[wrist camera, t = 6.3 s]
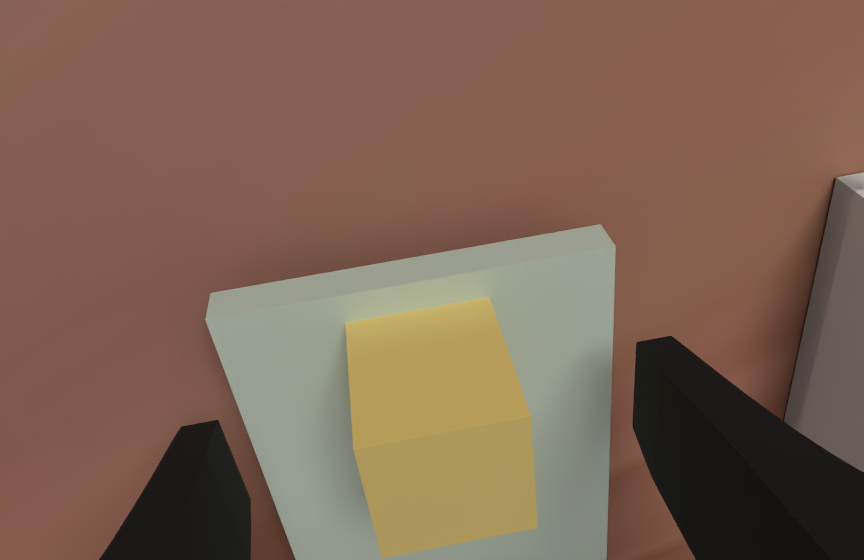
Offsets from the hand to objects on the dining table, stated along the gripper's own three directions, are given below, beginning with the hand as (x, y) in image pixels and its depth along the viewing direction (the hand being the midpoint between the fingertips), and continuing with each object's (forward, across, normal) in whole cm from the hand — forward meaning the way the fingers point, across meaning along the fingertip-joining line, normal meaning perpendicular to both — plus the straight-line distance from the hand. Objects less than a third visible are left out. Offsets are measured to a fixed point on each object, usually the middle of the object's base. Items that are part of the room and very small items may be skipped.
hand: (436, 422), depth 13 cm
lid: (+3, 0, +3) cm, 4 cm away
